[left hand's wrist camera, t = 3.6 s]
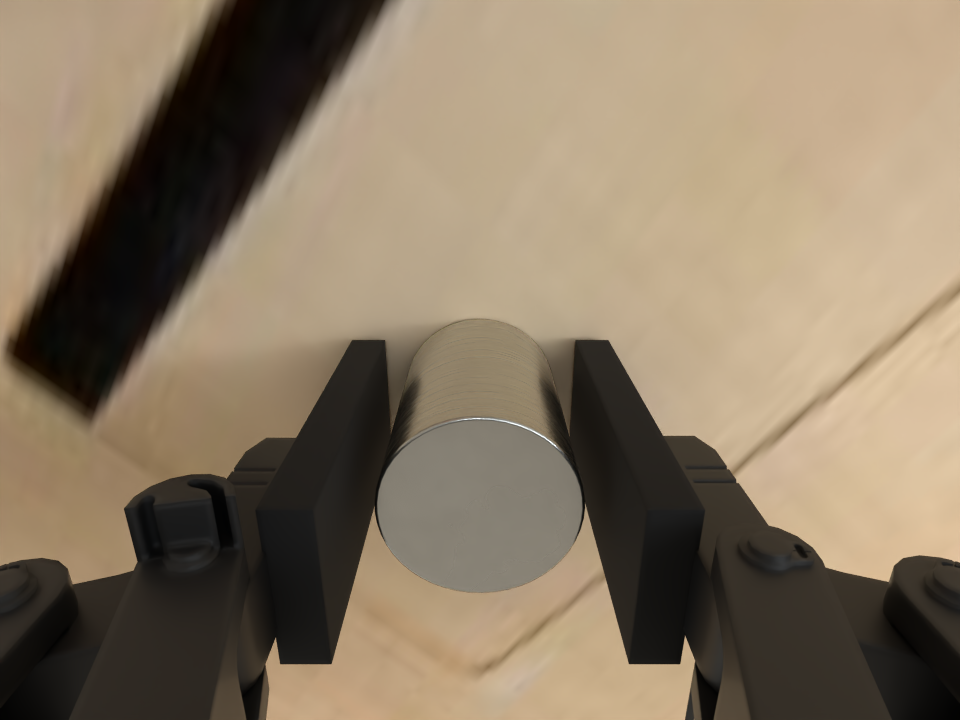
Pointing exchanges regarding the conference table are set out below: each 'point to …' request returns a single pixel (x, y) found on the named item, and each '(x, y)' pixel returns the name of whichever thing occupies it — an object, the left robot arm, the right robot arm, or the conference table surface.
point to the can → (479, 463)
